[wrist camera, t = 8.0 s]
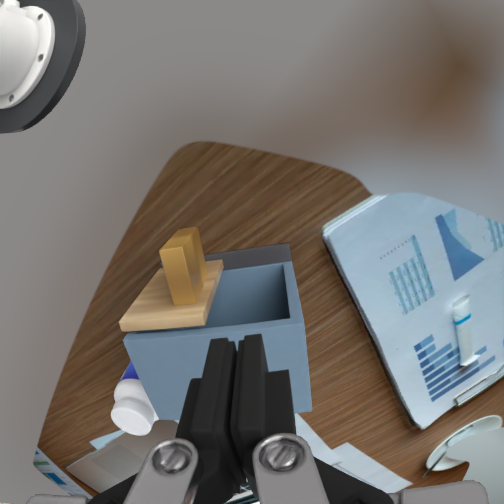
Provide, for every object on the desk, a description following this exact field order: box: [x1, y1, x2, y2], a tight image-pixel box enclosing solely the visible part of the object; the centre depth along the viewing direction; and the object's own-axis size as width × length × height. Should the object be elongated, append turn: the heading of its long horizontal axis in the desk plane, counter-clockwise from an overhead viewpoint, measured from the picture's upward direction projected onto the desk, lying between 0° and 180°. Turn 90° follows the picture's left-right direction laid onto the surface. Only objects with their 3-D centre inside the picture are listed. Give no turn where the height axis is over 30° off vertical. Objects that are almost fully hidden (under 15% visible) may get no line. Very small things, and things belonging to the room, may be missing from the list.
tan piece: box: [119, 227, 224, 332], centre depth 24 cm, size 5×6×10 cm
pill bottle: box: [111, 361, 159, 435], centre depth 29 cm, size 5×5×10 cm
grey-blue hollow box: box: [123, 243, 312, 420], centre depth 26 cm, size 10×12×11 cm
